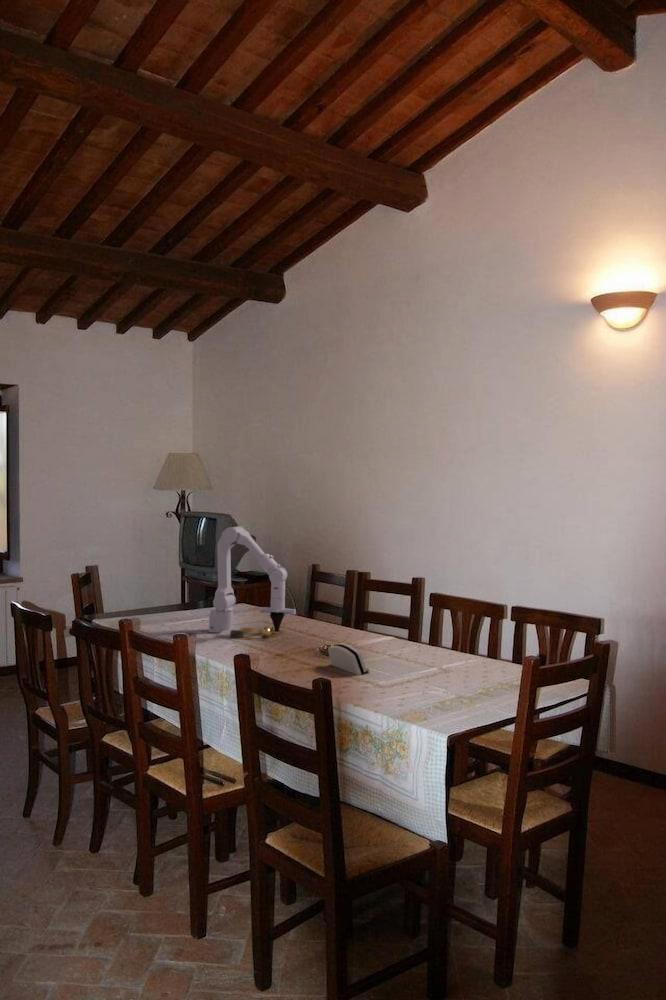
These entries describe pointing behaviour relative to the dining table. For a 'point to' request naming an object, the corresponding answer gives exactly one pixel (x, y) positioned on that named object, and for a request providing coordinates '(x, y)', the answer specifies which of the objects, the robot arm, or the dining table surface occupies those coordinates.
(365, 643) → the dining table surface
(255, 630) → the door board
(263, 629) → the swing bar
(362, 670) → the grey half-round piece
